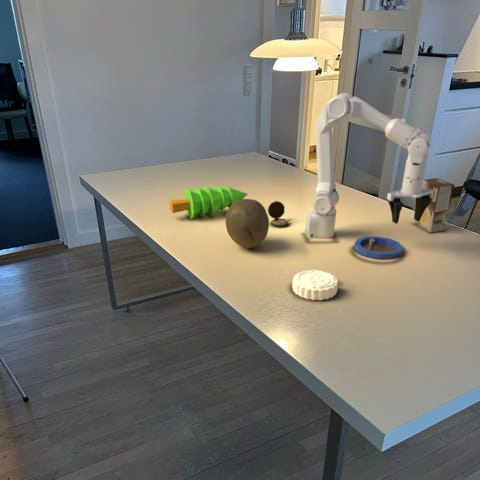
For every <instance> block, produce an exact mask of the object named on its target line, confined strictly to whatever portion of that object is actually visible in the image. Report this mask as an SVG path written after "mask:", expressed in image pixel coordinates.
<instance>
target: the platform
mask: <svg viewBox="0 0 480 480" xmlns="http://www.w3.org/2000/svg"><path fill="white" fill-rule="evenodd" d="M361 246H362V247H363V248H365V249H368V250H370V251H376V252H390V251H393V250H395V249H394V248H393V247H391V246H389V245H387V244H382V243H375V240H374V239H370V241H369V243H366V244H362V245H361ZM352 249H353V251H354V253H356V254H357V255H359V256H362V257H364V258H367V259H371V260H379V261H391V260H396V259H398V258H400V257H402V256H403V253H404V251H403V250H402V252H401V254H400V256H398V257H395V258H392V259H376V258H370V257H366V256H364V255H361V254H359V253H357V252H356V250H355V249H354V245H353V246H352Z"/></svg>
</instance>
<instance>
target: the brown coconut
mask: <svg viewBox="0 0 480 480" xmlns="http://www.w3.org/2000/svg"><path fill="white" fill-rule="evenodd" d="M225 228H226V231H227V232H226V233H227V234H228V235H229V237H230V238H231V240H232V241H233V242H234V243H235V244H237V245H238V246H240V247H242V248H244V249H253V248H256V247H259V246H260V245H262V244H263V242H264V241H265V240H266V238H267V235H268V233H269V229H270V219H269V214H268V212H267V211H266V209H265V206H264V205H263V204H262V203H261V202H259V201H258V200H257V199H250V198H243V199H241V200H238V201H236V202H235V203H233V204H232V205H231V207H230V208H229V207H228V210H227V212H226V213H225Z"/></svg>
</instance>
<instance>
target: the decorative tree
mask: <svg viewBox="0 0 480 480" xmlns="http://www.w3.org/2000/svg"><path fill="white" fill-rule="evenodd" d="M183 195H184V198H176V199H175V198H174V199H169V203H168V204H169V209H170V212H171V214H175V213H180V212H184V211H186V214H187V216H188V217H189V218H190V219H191V220H193V219H194V218H196V217H197V216H199V217H200V218H203V217H204V216H205V215H206V214H208V215H209V216H211V218H212V217H213V216H214V215H216V214H217V213H218V212H219V211H220V212H222V211H224V210H225V209H226V208H228V209H229V208H230V207H231V205H232V204H233V203H235V202H236V201H238V200H241V199H245V198H246V197H247V196H248V195H249V193H246V192H244V191H241V190H239V189H236V188H234V187H231V186H228V185H226V186H225V188H223V187H221V186H217V187H216V189H215V188H212V187H209V186H206V185H205V186H204V189H202V188H200V187H198V186H196V187H195V189H194V190H192V189H189V188H188V187H186V188H185V190H184V193H183Z"/></svg>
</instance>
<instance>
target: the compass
mask: <svg viewBox="0 0 480 480" xmlns="http://www.w3.org/2000/svg"><path fill="white" fill-rule="evenodd" d="M285 211H286V210H285V205H284V204H283V202H281V201H279V200H275V201H273V202H271V203H270V204H269V205H268V207H267V214H268V216H269V217H270V218H271V219H272V220H271V221H270V225H271V226H273V227H274V228H275V227H276V228H284V227H287V226H288V225H289V223H290V222H291V223H293V222H294V221H293V220H292V219H288V220H287V219H284V218H282V216H283V215H284V214H285Z"/></svg>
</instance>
